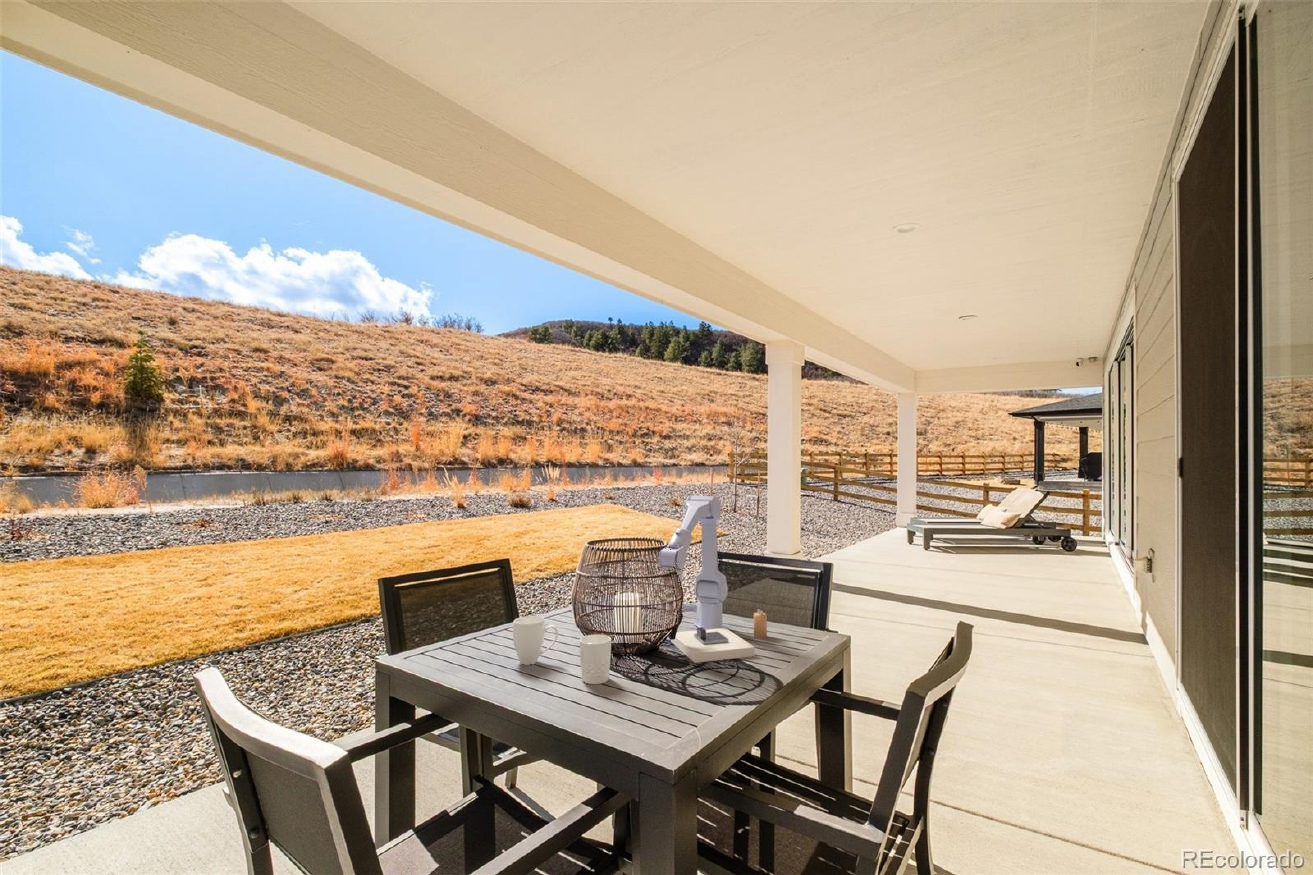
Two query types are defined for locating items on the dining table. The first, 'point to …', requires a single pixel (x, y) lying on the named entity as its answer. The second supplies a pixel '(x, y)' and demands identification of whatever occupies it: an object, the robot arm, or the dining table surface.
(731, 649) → the socket plate
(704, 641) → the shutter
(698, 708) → the dining table surface
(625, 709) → the dining table surface
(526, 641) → the mug
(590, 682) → the white cup
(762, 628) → the plug peg
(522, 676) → the dining table surface
